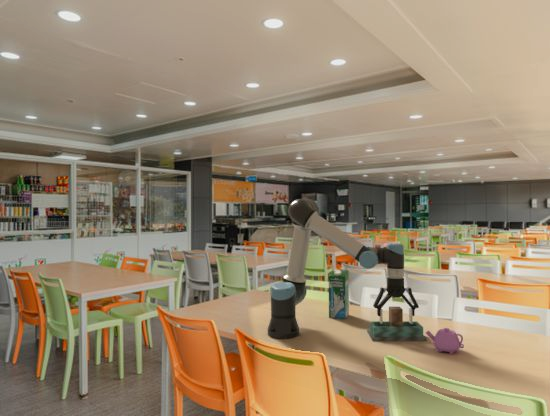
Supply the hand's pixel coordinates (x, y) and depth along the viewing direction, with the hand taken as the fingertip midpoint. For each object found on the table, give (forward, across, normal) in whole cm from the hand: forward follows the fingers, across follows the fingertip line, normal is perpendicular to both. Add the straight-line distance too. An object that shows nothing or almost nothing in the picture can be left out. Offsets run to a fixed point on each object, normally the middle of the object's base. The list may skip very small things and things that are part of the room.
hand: (395, 323), depth 189 cm
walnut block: (+5, 0, 0) cm, 5 cm away
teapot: (+7, +16, -17) cm, 24 cm away
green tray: (+6, 0, 0) cm, 6 cm away
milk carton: (+6, -22, +34) cm, 41 cm away
